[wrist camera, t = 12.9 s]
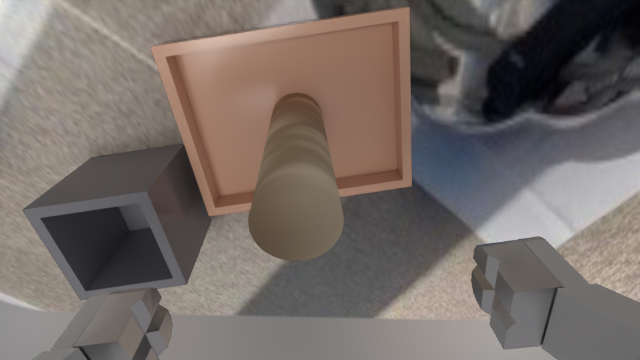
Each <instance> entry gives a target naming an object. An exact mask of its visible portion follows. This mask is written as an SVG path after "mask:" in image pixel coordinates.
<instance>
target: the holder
mask: <svg viewBox="0 0 640 360" xmlns="http://www.w3.org/2000/svg"><path fill="white" fill-rule="evenodd" d="M22 211H23V212H24V214H25V215H26V217H27V218H28V220H29V221H30V223H31V225H32V226H33V228H34V229H35V231H36V232H37V234H38V235H39V237H40V239H41V240H42V242H43V243H44V245H45V246H46V248H47V249H48V251H49V252H50V254H51V256H52V257H53V259H54V260H55V262H56V263H57V265H58V266H59V268H60V270H61V271H62V273H63V274H64V276H65V277H66V279H67V280H68V282H69V284H70V285H71V287H72V288H73V290H74V291H75V293H76V294H77V296H78V298H79V299H80V300H85V299H88V298H89V297H90V296H92V295H94V294H95V293H104V292H114V291H119V290H129V289H139V288H148V287H152V288H157V289H160V288H167V287H173V286H180V285H187V283H188V280H189V277H190V275H191V272H192V270H193V267H194V265H195V262H196V259H197V257H198V254H199V252H200V249H201V246H202V244H203V241H204V239H205V236H206V234H207V231H208V228H209V226H210V223H211V219H210V217H209V215H208V212H207V209H206V206H205V203H204V200H203V198H202V195H201V192H200V189H199V186H198V183H197V180H196V177H195V174H194V172H193V169H192V166H191V163H190V160H189V157H188V154H187V151H186V148H185V145H184V144H179V145H172V146H165V147H159V148H152V149H145V150H139V151H132V152H126V153H119V154H112V155H106V156H99V157H93V158H90V159H89V160H88V161H86V162H85V163H84V164H82V165H81V166H80V167H78V168H77V169H76V170H74V171H73V172H72V173H70V174H69V175H68V176H66V177H65V178H64V179H63V180H61V181H60V182H59V183H57V184H56V185H55V186H53V187H52V188H51V189H49V190H48V191H47V192H45V193H44V194H43V195H41V196H40V197H39V198H37V199H36V200H35V201H33V202H32V203H31V204H29V205H28V206H27V207H25V208H24V209H23V210H22Z"/></svg>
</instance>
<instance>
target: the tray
mask: <svg viewBox="0 0 640 360" xmlns="http://www.w3.org/2000/svg"><path fill="white" fill-rule="evenodd" d="M151 50H152V53H153V56H154V58H155V61H156V64H157V67H158V70H159V73H160V76H161V79H162V82H163V85H164V87H165V90H166V93H167V96H168V99H169V102H170V105H171V108H172V111H173V114H174V116H175V119H176V122H177V125H178V128H179V131H180V134H181V137H182V140H183V143H184V145H185V148H186V151H187V154H188V157H189V160H190V163H191V166H192V169H193V172H194V174H195V177H196V180H197V183H198V186H199V189H200V192H201V195H202V198H203V200H204V203H205V206H206V209H207V212H208V215H209V217H210V216H216V215H223V214H230V213H236V212H243V211H250V209H251V205H252V200H253V196H254V191H255V187H256V183H257V178H258V174H259V170H260V165H261V161H262V156H263V152H264V148H265V143H266V139H267V135H268V130H269V126H270V121H271V117H272V113H273V109H274V106H275V105H276V103H277V102H278V101H279V100H280V99H281V98H282V97H283V96H285V95H287V94H291V93H303V94H306V95H308V96H310V97H312V98H313V99H314V100H315V101H316V102H317V104H318V105H319V107H320V109H321V113H322V118H323V123H324V127H325V132H326V137H327V141H328V146H329V150H330V155H331V160H332V164H333V169H334V174H335V178H336V183H337V188H338V192H339V197H343V196H350V195H357V194H364V193H370V192H377V191H384V190H390V189H397V188H404V187H410V186H412V161H411V82H410V7H393V8H387V9H380V10H374V11H367V12H361V13H354V14H348V15H341V16H335V17H328V18H322V19H315V20H309V21H302V22H296V23H289V24H283V25H276V26H270V27H263V28H257V29H250V30H244V31H237V32H231V33H224V34H218V35H211V36H205V37H198V38H192V39H185V40H179V41H172V42H166V43H161V44H158V45H155V46H152V47H151Z"/></svg>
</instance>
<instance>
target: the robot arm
mask: <svg viewBox="0 0 640 360" xmlns="http://www.w3.org/2000/svg"><path fill="white" fill-rule="evenodd" d="M473 258H474V260H475V261H476V263H477V266H476V267H475V268H474V270H473V271H472V279H471V282H472V288H473V293H474V295H475V298H476V301H477V303H478V304H479V306H480V308H481V309H482V310H483V311H485V312H486V313H488V314H489V315H491V318H490V326H491V328H492V330H493V331H494V333H495V335H496V337H497V338H498V340H499V342H500V344H501V345H502V347H503V349H514V348H525V347H537V346H542V348H543V349H544V350H545V351H546V352H548V353H549V354H551V355H552V356H553V357H554V358H556V359H557V360H640V303H639V302H637V301H635V300H632V299H630V298H628V297H626V296H623V295H621V294H619V293H617V292H615V291H612V290H610V289H608V288H606V287H603V286H601V285H599V284H589V283H588V282H587V281H586V280H585V279H584V278H583V277H582V276H581V275H580V274H579V273H578V272H577V271H576V270H575V269H574V268H573V267H572V266H571V265H570V264H569V263H568V262H567V261H566V260H565V259H564V258H563V257H562V256H561V255H560V254H559V253H558V252H557V251H556V250H555V249H554V248H553V247H552V246H551V245H550V244H549V243H548V242H547V241H546V240H545V239H544V238H542V237H539V236H538V237H531V238H524V239H518V240H512V241H505V242H497V243H490V244H483V245H476V247H475V249H474V256H473ZM161 298H162V297H161V295H160V293H159V292H158V290H157V288H152V287H148V288H139V289H129V290H119V291H114V292H104V293H95V294H94V295H92V296H90V297H89V298H88V299H87V300H86V302H85V303H84V304H83V306H82V307H81V309H80V310H79V311H78V313H77V314H76V315H75V317H74V318H73V320H72V321H71V322H70V324H69V325H68V326H67V328H66V329H65V331H64V332H63V333H62V335H61V336H60V337H59V339H58V340H57V341H56V343H55V344H54V345H53V347H52V348H51V350H50V351H46V352H42V353H41V354H39V355H38V356H37V357H35V358H34V359H32V360H159V357H158V356H159V355H160V354H161V353H162V352H163V351H164V350H165V349H166V348H167V347H168V345H169V342H170V340H171V337H172V327H173V324H172V319H171V315H170V313H169V311H168V309H166V308H164V307H163V306H161V305H159V303H160V301H161Z"/></svg>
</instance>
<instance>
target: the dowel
mask: <svg viewBox="0 0 640 360" xmlns="http://www.w3.org/2000/svg"><path fill="white" fill-rule="evenodd" d="M248 221H249V230H250V233H251V236H252V237H253V239H254V241H255V242H256V243H257V245H258V246H259V247H260V248H261V249H263V250H264V251H265V252H267V253H268V254H270V255H272V256H274V257H277V258H280V259H284V260H290V261H302V260H308V259H312V258H315V257H318V256H320V255H322V254H324V253H325V252H327V251H328V250H329V249H331V248H332V247H333V246H334V245H335V243H336V242H337V241H338V239H339V238H340V236H341V233H342V231H343V226H344V216H343V211H342V206H341V202H340V197H339V192H338V188H337V183H336V178H335V174H334V169H333V164H332V160H331V155H330V150H329V146H328V141H327V137H326V132H325V127H324V123H323V118H322V113H321V109H320V107H319V105H318V104H317V102H316V101H315V100H314V99H313V98H312V97H310V96H308V95H306V94H303V93H291V94H287V95H285V96H283V97H282V98H281V99H280V100H279V101H278V102H277V103H276V105H275V106H274V109H273V113H272V117H271V121H270V126H269V130H268V135H267V139H266V143H265V148H264V152H263V156H262V161H261V165H260V170H259V174H258V178H257V183H256V187H255V191H254V196H253V200H252V205H251V209H250V213H249V220H248Z"/></svg>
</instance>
